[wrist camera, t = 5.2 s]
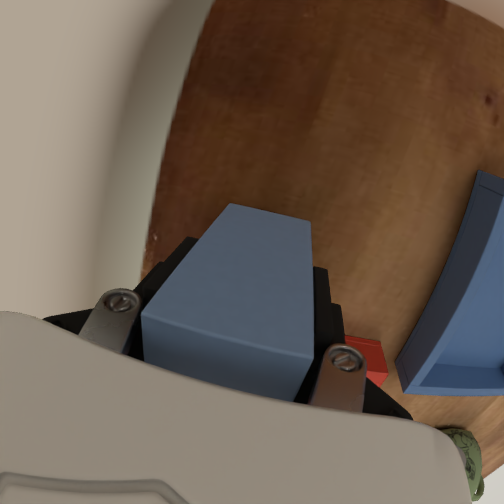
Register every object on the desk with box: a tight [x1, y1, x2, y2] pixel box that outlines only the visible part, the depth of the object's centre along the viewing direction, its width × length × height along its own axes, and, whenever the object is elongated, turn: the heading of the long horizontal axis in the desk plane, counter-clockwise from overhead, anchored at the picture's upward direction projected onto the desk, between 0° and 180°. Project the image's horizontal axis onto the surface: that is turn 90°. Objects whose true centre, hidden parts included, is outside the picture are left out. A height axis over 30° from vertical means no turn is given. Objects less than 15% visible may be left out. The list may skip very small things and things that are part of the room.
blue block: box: [141, 203, 314, 402], centre depth 11 cm, size 4×4×9 cm
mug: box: [439, 428, 484, 501], centre depth 19 cm, size 16×13×9 cm
